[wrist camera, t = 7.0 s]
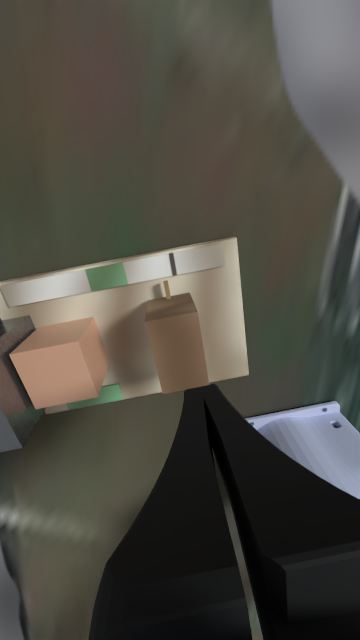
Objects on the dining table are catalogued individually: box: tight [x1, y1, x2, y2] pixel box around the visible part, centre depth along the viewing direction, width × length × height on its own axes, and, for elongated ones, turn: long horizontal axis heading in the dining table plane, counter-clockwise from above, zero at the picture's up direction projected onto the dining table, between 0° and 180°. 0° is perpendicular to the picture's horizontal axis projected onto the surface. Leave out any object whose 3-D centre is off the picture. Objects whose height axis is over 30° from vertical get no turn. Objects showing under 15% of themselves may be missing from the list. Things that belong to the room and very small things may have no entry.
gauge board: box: [0, 237, 249, 414], centre depth 20 cm, size 17×11×1 cm, turn 100°
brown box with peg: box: [145, 280, 209, 394], centre depth 17 cm, size 3×6×4 cm, turn 10°
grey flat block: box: [0, 315, 46, 452], centre depth 17 cm, size 2×6×7 cm, turn 10°
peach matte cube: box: [9, 317, 109, 409], centre depth 17 cm, size 4×4×4 cm
